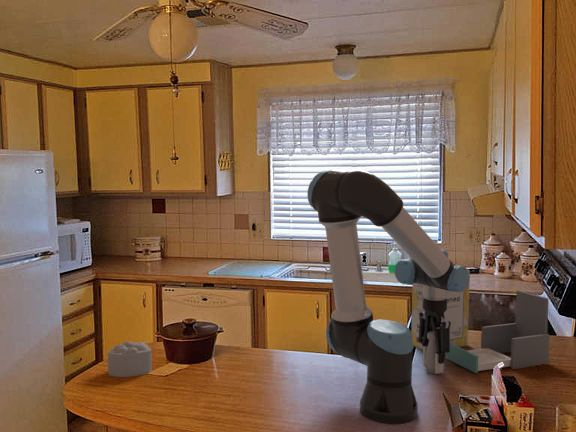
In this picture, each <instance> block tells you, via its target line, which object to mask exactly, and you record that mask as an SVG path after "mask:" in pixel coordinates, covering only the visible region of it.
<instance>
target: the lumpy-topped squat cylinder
mask: <svg viewBox="0 0 576 432" xmlns="http://www.w3.org/2000/svg"><path fill="white" fill-rule="evenodd" d="M152 358H153V357H152V348H151V347H150V346H149V345H148V343H144V342H143V341H137V342H133V341H130V340H128V341H124V342H123V343H121V344H117V345H115V346H114V347H113V348H111V349H109V350H108V351H107V375H108V376H110V377H113V378H114V377H115V378H131V377H137V376H143V375H146V374H150V373H151V372H152V369H153V366H152V365H153V364H152V362H153V361H152V360H153V359H152Z"/></svg>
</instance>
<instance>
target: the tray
mask: <svg viewBox="0 0 576 432" xmlns="http://www.w3.org/2000/svg"><path fill="white" fill-rule="evenodd" d="M445 359H447V360H449V361H450V362H453V363H455V364H457V365H458V366H461V367H462V368H465V369H466V370H468V371H471V372H473V373H475V374H478V372H480V371H487V370H493V367H494V366H495V365H497V364H498V363H500V362H503V363H504V364H505V366H504V367H503V368H508V367H511V356H507V355H505V354H504V353H498V352H496V351H493V350H491V349H489V348H483V349H481V348H477V349H468V350H466V349H464V348H462V347H458V346H455V345H453V344H451V343H450V352H449V353H445Z"/></svg>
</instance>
